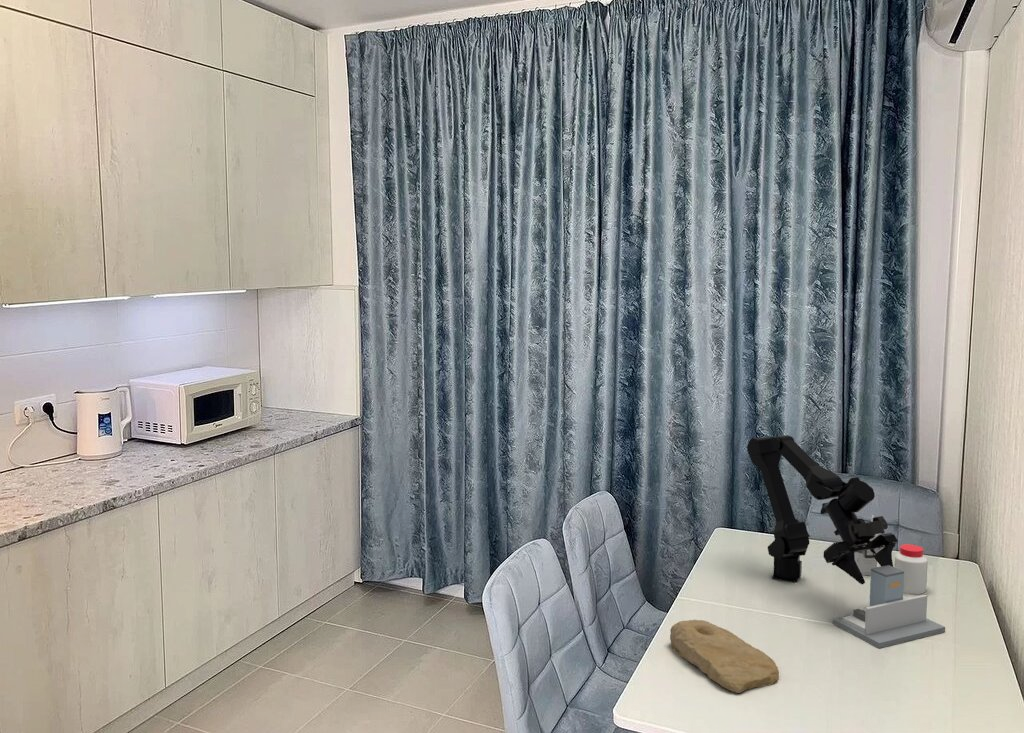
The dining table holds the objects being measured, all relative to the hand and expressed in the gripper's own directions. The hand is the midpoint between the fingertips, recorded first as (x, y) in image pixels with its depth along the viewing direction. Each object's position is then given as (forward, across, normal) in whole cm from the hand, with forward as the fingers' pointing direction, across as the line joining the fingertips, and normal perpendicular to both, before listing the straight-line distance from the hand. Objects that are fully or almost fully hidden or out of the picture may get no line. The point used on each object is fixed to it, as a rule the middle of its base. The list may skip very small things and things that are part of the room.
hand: (878, 580), depth 199 cm
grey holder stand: (+10, 0, +5) cm, 11 cm away
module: (+8, 0, +4) cm, 8 cm away
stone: (+9, -46, +6) cm, 48 cm away
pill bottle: (-1, +24, +16) cm, 28 cm away
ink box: (-11, +23, +27) cm, 37 cm away
